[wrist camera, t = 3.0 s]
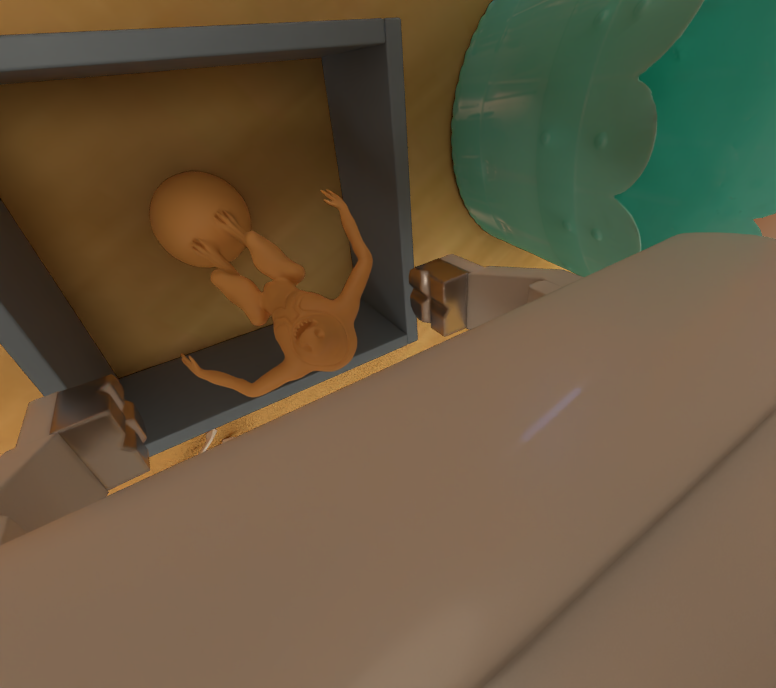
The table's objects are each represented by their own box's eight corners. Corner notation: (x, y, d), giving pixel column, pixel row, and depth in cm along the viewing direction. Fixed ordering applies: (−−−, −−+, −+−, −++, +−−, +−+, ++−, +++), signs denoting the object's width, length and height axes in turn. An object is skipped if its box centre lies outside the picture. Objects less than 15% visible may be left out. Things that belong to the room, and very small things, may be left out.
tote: (331, 38, 18) (401, 16, 13) (367, 300, 26) (418, 340, 21) (-117, 66, 12) (-250, 45, 8) (110, 394, 20) (108, 475, 16)
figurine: (216, 107, 17) (326, 113, 8) (311, 206, 21) (451, 280, 12) (94, 251, 17) (72, 412, 8) (212, 321, 21) (282, 475, 12)
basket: (380, 78, 20) (620, 55, 10) (616, -178, 20) (1058, -427, 11) (501, 294, 33) (654, 370, 24) (642, 138, 33) (849, 152, 24)
